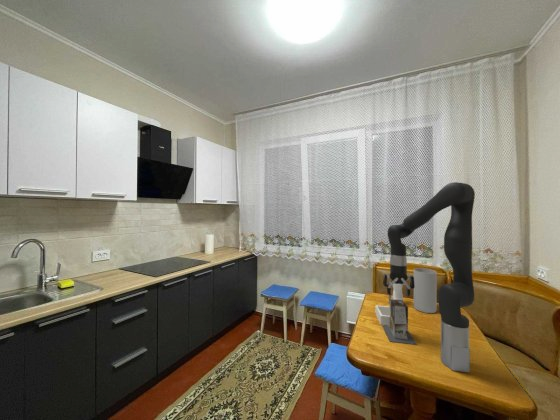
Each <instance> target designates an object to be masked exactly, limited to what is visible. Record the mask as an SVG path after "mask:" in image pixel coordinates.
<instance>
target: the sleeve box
mask: <svg viewBox="0 0 560 420" xmlns="http://www.w3.org/2000/svg"><path fill="white" fill-rule="evenodd" d="M374 307H375V309H374V310H375V312H374V313H376V314H375V315H376V318H377V319H378V323H379V325H381V326H382V325H383V326H390V305H389V306H388V305H386V306H385V305H376V304H375V306H374Z"/></svg>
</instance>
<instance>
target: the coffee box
mask: <svg viewBox="0 0 560 420" xmlns="http://www.w3.org/2000/svg"><path fill="white" fill-rule="evenodd" d="M389 307H390V315H389V316H390V330H391V332H392V334H393V336H394V338H399V339H406V340H407V339H408V331H409V306H408V305H407V304H406V302H404V300H403V301H402V300H392V298H391V299H390V304H389Z"/></svg>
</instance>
